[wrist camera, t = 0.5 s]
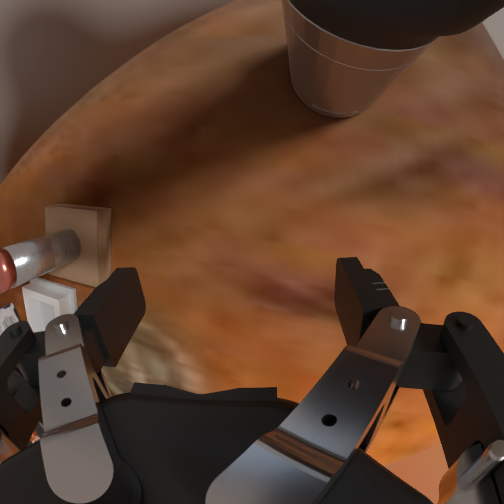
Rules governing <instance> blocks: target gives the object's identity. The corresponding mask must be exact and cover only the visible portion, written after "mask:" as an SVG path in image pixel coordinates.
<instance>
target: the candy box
mask: <svg viewBox="0 0 504 504" xmlns="http://www.w3.org/2000/svg"><path fill="white" fill-rule="evenodd" d="M19 321H20V319H19V317H18V315H17V312H16V310H15V307H14V305H13V303H10V304H7V305H6V306H4V307H2V308H0V335H1V334H2V333H3V331H4V330H5V329H6V328H7V327H9V326H10V325H12V324H14V323H16V322H19Z"/></svg>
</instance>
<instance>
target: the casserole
mask: <svg viewBox="0 0 504 504" xmlns="http://www.w3.org/2000/svg"><path fill="white" fill-rule="evenodd" d="M24 380H25V378H24V377H23V376H22V374H21V373H19V372H18V371H17V370H16V369H14V370H13V372H12V373H11V375H10V376H9V378H8V382H7V384H8V389H9V391H10V392H11V394H12V395H13V397H14V396H15V395H16V393H17V391H18V390H19V388H20V387H21V385H22V383H23V382H24ZM43 434H44V425H43V417H42V416H41V418H40V420H39V422H38V424H37V426H36V428H35V430H34V432H33V434H32V436H31V439H30V441H29V443H28V445H27V446H29V445H31V444H33V443H34V442H36V441H38V440H39V439H40V437H41V435H43Z"/></svg>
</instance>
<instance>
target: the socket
mask: <svg viewBox="0 0 504 504" xmlns="http://www.w3.org/2000/svg"><path fill="white" fill-rule="evenodd" d="M22 291H23V297H24V303H25V309H26V315H27V320H28V323H29V324H30V326H31V328H32V331H33V332H40V331H45V328H46V326H47V324H48V323H49V322H50V321H51V320H53V319H54V318H56V317H58V316H61V315H64V314H74V313H75V311H76V310H77V309H78V306H77V297H76V288H73V287H69V286H66V285H62V284H59V283H56V282H52V281H49V280H46V279H43V278H39V277H36V278H34V279H32V280H30V284H28V285H25V286H23V287H22Z"/></svg>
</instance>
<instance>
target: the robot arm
mask: <svg viewBox="0 0 504 504" xmlns="http://www.w3.org/2000/svg"><path fill="white" fill-rule="evenodd" d="M282 7H283V12H284V20H285V29H286V37H287V46H288V56H289V67H290V76H291V83H292V85H293V88H294V91H295V92H296V94H297V95H298V97H299V99H300V100H301V101H302V102H303V103H304V104H305V105H306V106H308V107H309V108H311V109H312V110H313V111H315V112H318V113H320V114H322V115H325V116H329V117H334V118H346V117H352V116H355V115H358V114H360V113H362V112H363V111H365V110H366V109H368V108H369V107H370V106H371V105H372V104H373V103H374V102H375V101H376V100H377V99H378V98H379V97H380V96H381V95H382V94H383V93H384V92H385V91H386V90H387V89H388V88H389V87H390V86H391V85H392V84H393V83H394V82H395V81H396V80H397V79H398V78H399V77H400V76H401V75H402V74H403V73H404V72H405V71H406V70H407V69H408V68H409V67H410V66H411V65H412V64H413V62H414V61H415V60H416V59H417V58H418V57H419V56H420V55H421V54H422V53H423V52H424V51H425V50H426V49H427V48H428V47H429V46H430V45H431V44H432V43H433V42H434V41H435V40H436V39H437V38H438V37H439V36H448V35H454V34H459V33H462V32H465V31H467V30H469V29H471V28H473V27H475V26H476V25H478V24H479V23H481V22H482V21H484V20H485V19H486V18H488V17H489V16H491V15H492V14H494V13H495V12H497V11H498V10H500V9H502V8H503V7H504V0H282ZM145 307H146V305H145V299H144V295H143V291H142V288H141V284H140V280H139V276H138V273H137V270H136V269H135V268H134V267H130V268H117V269H116V270H115V271H114V272H113V273H112V274H111V275H110V276H109V278H108V279H107V280H106V281H104V282H103V283H101V284H100V285H98V286H97V287H96V288H95V289H94V291H93V292H92V294H90V295H89V296H88V297H87V299H86V300H85V301H84V302H83V303H82V304H81V306H80V307H79V308H78V309H77V310H76V311H75V313H74V314H64V315H61V316H58V317H56V318H54V319H53V320H51V321H50V322H49V323H48V324H47V326H46V328H45V331H40V332H33V331H32V328H31V326H30V324H29V323H28V322H26V321H19V322H16V323H14V324H12V325H10V326H9V327H7V328H6V329H5V330H4V331H3V333H2V334H1V335H0V504H433V503H432V502H431V501H430V500H429V499H428V498H427V497H426V496H425V495H423V494H422V493H420V492H419V491H417V490H416V489H414V488H413V487H412V486H410V485H409V484H407V483H406V482H404V481H403V480H401V479H400V478H399V477H397V476H396V475H395V474H393V473H392V472H391V471H389V470H388V469H386V468H385V467H384V466H382V465H381V464H380V463H378V462H377V461H376V460H374V459H373V458H372V457H371V456H369V455H368V454H367V453H366V452H367V451H368V449H369V447H370V446H371V444H372V442H373V440H374V438H375V436H376V434H377V432H378V430H379V428H380V426H381V424H382V423H383V421H384V419H385V417H386V415H387V413H388V411H389V409H390V407H391V405H392V403H393V401H394V399H395V397H396V395H397V393H398V391H399V389H400V387H403V388H415V389H423V391H424V394H425V397H426V399H427V402H428V405H429V408H430V411H431V413H432V416H433V419H434V422H435V425H436V428H437V431H438V435H439V438H440V441H441V444H442V447H443V451H444V454H445V458H446V461H447V465H448V468H449V470H448V471H447V472H446V473H445V474H444V475H443V477H442V479H441V481H440V484H439V501H438V504H504V353H503V352H502V350H501V349H500V348H499V346H498V345H497V343H496V342H495V340H494V339H493V337H492V336H491V335H490V333H489V332H488V330H487V329H486V328H485V326H484V325H483V324H482V322H481V321H480V320H479V319H478V318H477V317H475V316H473V315H472V314H469V313H466V312H453V313H450V314H448V315H447V316H446V318H445V321H444V325H433V324H424V323H421V320H420V318H419V316H418V315H417V314H416V313H415V312H414V311H412V310H410V309H408V308H405V307H401V306H399V304H398V303H397V301H396V300H395V298H394V296H393V295H392V293H391V292H390V290H389V289H388V287H387V285H386V284H385V283H384V281H383V279H382V278H381V276H380V275H379V274H378V273H376V272H375V271H373V270H372V269H364V268H363V266H362V265H361V263H360V261H359V260H358V258H357V257H349V258H338V259H337V263H336V280H335V307H336V311H337V314H338V317H339V320H340V323H341V327H342V330H343V333H344V336H345V339H346V342H347V346H346V347H345V348H344V349H343V351H342V352H341V353H340V355H339V356H338V357H337V358H336V360H335V361H334V362H333V364H332V365H331V366H330V367H329V369H328V370H327V371H326V372H325V374H324V375H323V376H322V377H321V379H320V380H319V381H318V382H317V383H316V385H315V386H314V387H313V388H312V389H311V391H310V392H309V393H308V394H307V395H306V396H305V398H304V399H303V400H302V401H301V402H300V403H296V402H293V401H290V400H286V399H281V398H277V387H268V388H236V389H231V390H226V391H220V392H214V393H208V394H195V393H191V392H187V391H184V390H180V389H177V388H173V387H170V386H166V385H156V384H145V383H134V385H133V387H132V389H131V392H129V393H123V394H118V395H115V396H112V397H111V394H110V391H109V388H108V385H107V383H106V380H105V377H104V374H103V372H102V370H101V368H102V367H103V366H108V367H116V365H117V363H118V361H119V359H120V358H121V356H122V354H123V352H124V350H125V348H126V346H127V345H128V343H129V341H130V339H131V337H132V335H133V334H134V332H135V330H136V328H137V326H138V325H139V323H140V321H141V319H142V318H143V316H144V313H145ZM16 366H18V368H19V370H20V371H21V373H22V374H23V376H24V378H25V380H24V382H23V383H22V385H21V387H20V388H19V390H18V391H17V393H16V395H15V396H14V397H13V395H12V394H11V392H10V391H9V389H8V384H7V382H8V378H9V376H10V375H11V373H12V372H13V370H14V369H15V367H16ZM41 416H42V417H43V425H44V434H43V435H41V437H40V439H39V440H38V441H36V442H34V443H33V444H31V445H29V446H27V445H28V443H29V441H30V439H31V436H32V434H33V432H34V430H35V428H36V426H37V424H38V422H39V420H40V418H41Z"/></svg>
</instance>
